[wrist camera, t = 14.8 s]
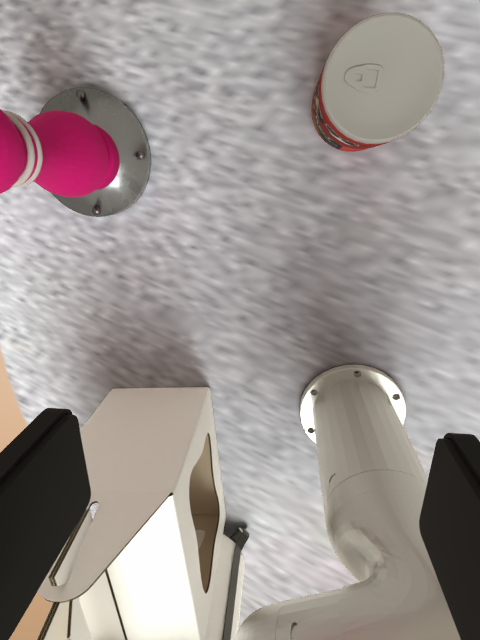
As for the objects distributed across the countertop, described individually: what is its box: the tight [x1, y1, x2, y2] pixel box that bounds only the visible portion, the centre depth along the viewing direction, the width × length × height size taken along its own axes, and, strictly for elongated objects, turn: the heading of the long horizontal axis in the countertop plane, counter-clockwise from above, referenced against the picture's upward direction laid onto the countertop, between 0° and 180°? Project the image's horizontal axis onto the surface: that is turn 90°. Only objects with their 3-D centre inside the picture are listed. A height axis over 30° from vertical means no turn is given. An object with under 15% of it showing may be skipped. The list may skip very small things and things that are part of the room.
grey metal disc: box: [40, 88, 151, 217], centre depth 39 cm, size 12×12×2 cm
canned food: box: [312, 13, 444, 151], centre depth 30 cm, size 8×8×11 cm
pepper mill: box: [0, 109, 120, 197], centre depth 29 cm, size 7×7×20 cm
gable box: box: [37, 387, 226, 640], centre depth 40 cm, size 22×13×28 cm, turn 5°
